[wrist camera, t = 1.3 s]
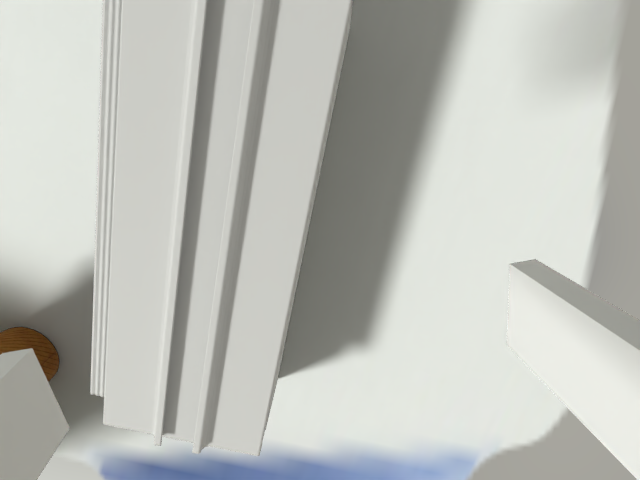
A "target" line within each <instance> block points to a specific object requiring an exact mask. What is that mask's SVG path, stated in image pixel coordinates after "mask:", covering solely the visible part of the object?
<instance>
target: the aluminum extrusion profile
mask: <svg viewBox="0 0 640 480" xmlns="http://www.w3.org/2000/svg"><path fill="white" fill-rule="evenodd" d="M352 1H353V0H103V8H102V40H101V71H100V103H99V134H98V166H97V197H96V228H95V260H94V291H93V323H92V354H91V386H90V394H92V395H93V394H96V396H101V397H104V412H103V424H104V425H109V426H113V427H118V428H123V429H128V430H133V431H138V432H143V433H148V434H152V435H154V445H157V446H161V442H162V437H167V438H172V439H177V440H182V441H187V442H191V443H194V444H193V451H192V452H193V453H196V454H199V453H200V452H201V450H202V449H203V448H204V447H207V446H211V447H216V448H221V449H226V450H230V451H235V452H240V453H245V454H250V455H255V456H259V455H260V451H261V446H262V441H263V436H264V432H265V430H266V426H267V422H268V417H269V413H270V409H271V405H272V401H273V397H274V393H275V389H276V384H277V380H278V375H279V370H280V366H281V361H282V356H283V351H284V346H285V341H286V337H287V332H288V327H289V322H290V317H291V312H292V307H293V303H294V298H295V293H296V288H297V283H298V278H299V274H300V269H301V264H302V259H303V254H304V249H305V245H306V240H307V235H308V230H309V225H310V220H311V216H312V211H313V206H314V201H315V196H316V191H317V187H318V182H319V177H320V172H321V167H322V162H323V157H324V153H325V148H326V143H327V138H328V133H329V128H330V124H331V119H332V114H333V109H334V104H335V99H336V95H337V90H338V85H339V80H340V75H341V70H342V66H343V61H344V56H345V51H346V46H347V41H348V36H349V32H350V25H351V17H352V8H353V7H352V6H353V2H352Z"/></svg>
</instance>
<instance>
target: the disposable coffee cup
mask: <svg viewBox="0 0 640 480" xmlns="http://www.w3.org/2000/svg"><path fill="white" fill-rule="evenodd" d="M30 348H32V349H33V351H34V353H35V355H36V357H37V359H38V361H39V364H40V366H41V368H42V370H43V372H44V374H45V376H46V378H47V381H48V382H49V381H50V380H51V379H52V378H53V376H54V375H55V374H56V372H57V370H58V367H59V357H58V353H57V351H56V349H55V347H54V346H53V344H52V343H51V342H50V341H49V340H48V339H47V338H46V337H45V336H43V335H42V334H40V333H39V332H37V331H35V330H32V329H29V328H24V327H14V328H10V329H7V330H5V331H3V332H1V333H0V355H1V354H2V353H7V352H13V351H18V350H24V349H30Z"/></svg>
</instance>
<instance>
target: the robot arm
mask: <svg viewBox="0 0 640 480" xmlns="http://www.w3.org/2000/svg"><path fill="white" fill-rule="evenodd" d="M507 346H508V347H509V348H510V349H511V350H512V351H513V352H514V353H515V354H516V355H517V356H518V357H519V359H520V360H521V361H522V362H523V363H524V364H525V365H526V366H527V367H528V368H529V369H530V370H531V371H532V372H533V373H534V374H535V375H536V376H537V377H538V378H539V379H540V380H541V381H542V382H543V383H544V384H545V385H546V386H547V387H548V388H549V389H550V390H551V391H552V392H553V393H554V394H555V395H556V397H557V398H558V399H559V400H560V401H561V402H562V403H563V404H564V405H565V406H566V407H567V408H568V409H569V410H570V411H571V412H572V413H573V414H574V415H575V416H576V417H577V418H578V419H579V420H580V421H581V422H582V423H583V424H584V425H585V426H586V427H587V428H588V429H589V430H590V431H591V432H592V433H593V435H595V436H596V438H597V439H598V440H599V441H600V442H601V443H602V444H603V445H604V446H605V447H606V448H607V449H608V450H609V451H610V452H611V453H612V454H613V455H614V456H615V457H616V458H617V459H618V460H619V461H620V462H621V463H622V464H623V465H624V466H625V467H626V468H627V469H628V470H629V471H630V472H631V473H632V474H633V476H634V477H635V478H637V480H640V320H639V319H637V318H635V317H633V316H632V315H629V314H628V313H626V312H625V311H623V310H621V309H620V308H618V307H616V306H615V305H613V304H611V303H609V302H608V301H606V300H604V299H603V298H601V297H599V296H597V295H596V294H594V293H592V292H590V291H589V290H587V289H585V288H584V287H582V286H580V285H579V284H577V283H575V282H573V281H572V280H570V279H568V278H567V277H565V276H563V275H562V274H560V273H558V272H556V271H555V270H553V269H551V268H550V267H548V266H546V265H544V264H543V263H541V262H539V261H538V260H536V259H534V260H528V261H523V262H517V263H511V264H510V268H509V294H508V320H507ZM69 429H70V427H69V425H68V423H67V421H66V419H65V417H64V415H63V412H62V410H61V408H60V406H59V404H58V402H57V400H56V398H55V395H54V393H53V391H52V389H51V387H50V385H49V383H48V381H47V378H46V376H45V374H44V372H43V370H42V368H41V366H40V364H39V361H38V359H37V357H36V355H35V353H34V351H33V349H32V348H30V349H24V350H18V351H13V352H7V353H2V354H1V355H0V480H37V479H38V477H39V476H40V474H41V473H42V471H43V470H44V468H45V466H46V465H47V463H48V462H49V460H50V458H51V457H52V455H53V454H54V452H55V451H56V449H57V448H58V446H59V444H60V443H61V441H62V440H63V438H64V437H65V435H66V433H67V432H68V430H69Z"/></svg>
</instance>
